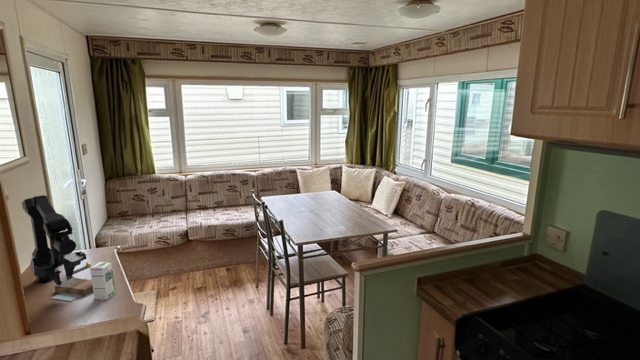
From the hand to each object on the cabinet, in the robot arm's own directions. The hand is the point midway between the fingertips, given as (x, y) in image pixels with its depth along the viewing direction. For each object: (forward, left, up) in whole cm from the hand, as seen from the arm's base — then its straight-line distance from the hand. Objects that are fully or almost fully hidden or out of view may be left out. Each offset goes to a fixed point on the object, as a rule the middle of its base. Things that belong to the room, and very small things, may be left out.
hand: (64, 282), depth 146 cm
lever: (-5, +12, -4) cm, 13 cm away
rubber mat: (0, 0, -7) cm, 7 cm away
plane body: (-1, +7, -7) cm, 9 cm away
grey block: (0, 0, -1) cm, 1 cm away
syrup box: (+15, +5, -7) cm, 17 cm away
